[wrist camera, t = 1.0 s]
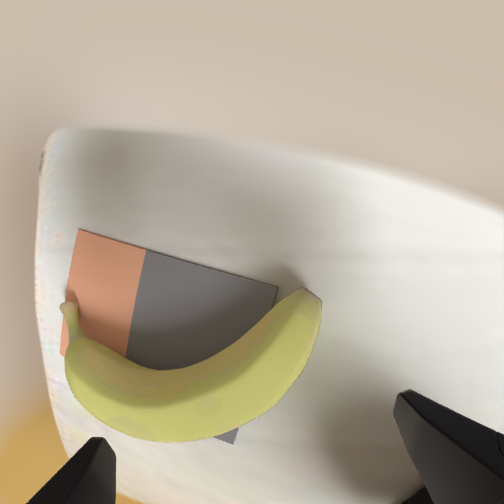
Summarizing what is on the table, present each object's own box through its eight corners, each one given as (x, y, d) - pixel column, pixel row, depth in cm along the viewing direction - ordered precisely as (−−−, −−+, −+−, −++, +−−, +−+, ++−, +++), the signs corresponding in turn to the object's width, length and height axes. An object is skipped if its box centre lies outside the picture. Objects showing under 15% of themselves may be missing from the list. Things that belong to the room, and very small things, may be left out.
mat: (277, 286, 19) (277, 287, 19) (233, 443, 19) (232, 444, 19) (147, 250, 22) (146, 250, 22) (122, 391, 22) (120, 392, 22)
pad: (147, 250, 22) (146, 250, 22) (122, 391, 22) (120, 392, 22) (80, 229, 24) (78, 229, 24) (61, 353, 24) (59, 353, 24)
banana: (226, 517, 11) (22, 356, 19) (255, 486, 16) (67, 364, 24) (327, 283, 15) (80, 208, 23) (331, 305, 20) (119, 235, 27)
